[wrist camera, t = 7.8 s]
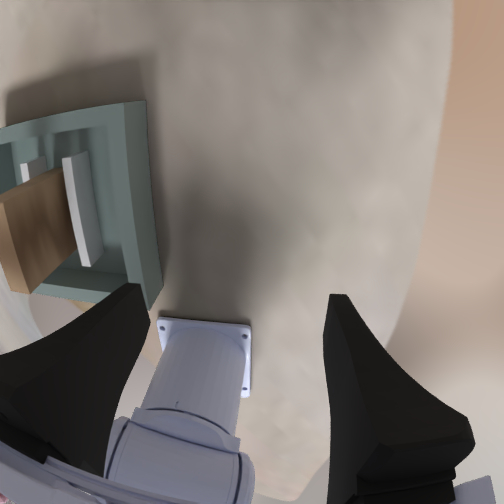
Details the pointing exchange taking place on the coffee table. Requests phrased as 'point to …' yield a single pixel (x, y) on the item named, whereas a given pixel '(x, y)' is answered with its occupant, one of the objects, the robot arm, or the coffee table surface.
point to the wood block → (35, 230)
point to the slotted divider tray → (94, 195)
